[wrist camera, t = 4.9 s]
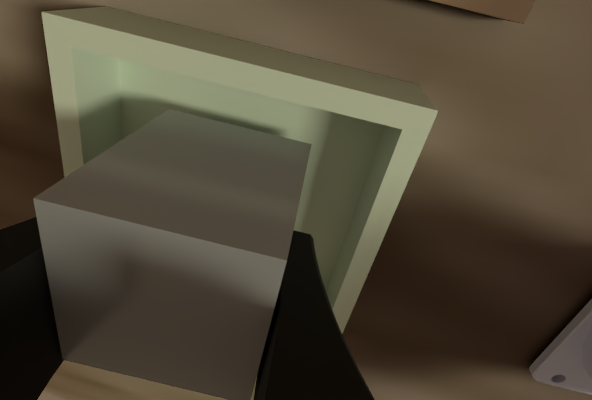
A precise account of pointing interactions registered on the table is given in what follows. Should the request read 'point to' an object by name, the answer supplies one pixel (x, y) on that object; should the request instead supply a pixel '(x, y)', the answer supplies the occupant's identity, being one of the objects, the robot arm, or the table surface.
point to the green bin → (248, 119)
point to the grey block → (173, 251)
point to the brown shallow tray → (494, 8)
